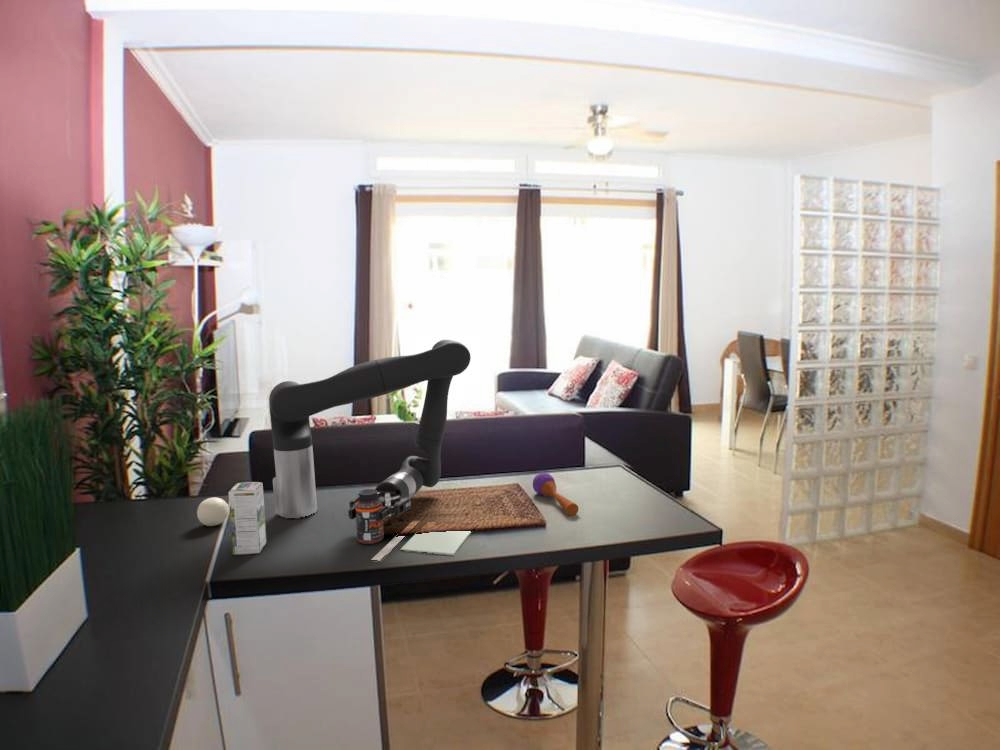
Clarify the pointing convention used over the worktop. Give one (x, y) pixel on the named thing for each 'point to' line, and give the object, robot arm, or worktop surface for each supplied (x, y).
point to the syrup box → (247, 518)
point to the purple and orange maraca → (553, 492)
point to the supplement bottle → (368, 517)
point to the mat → (437, 542)
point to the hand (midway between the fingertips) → (364, 516)
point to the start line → (388, 548)
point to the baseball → (212, 511)
